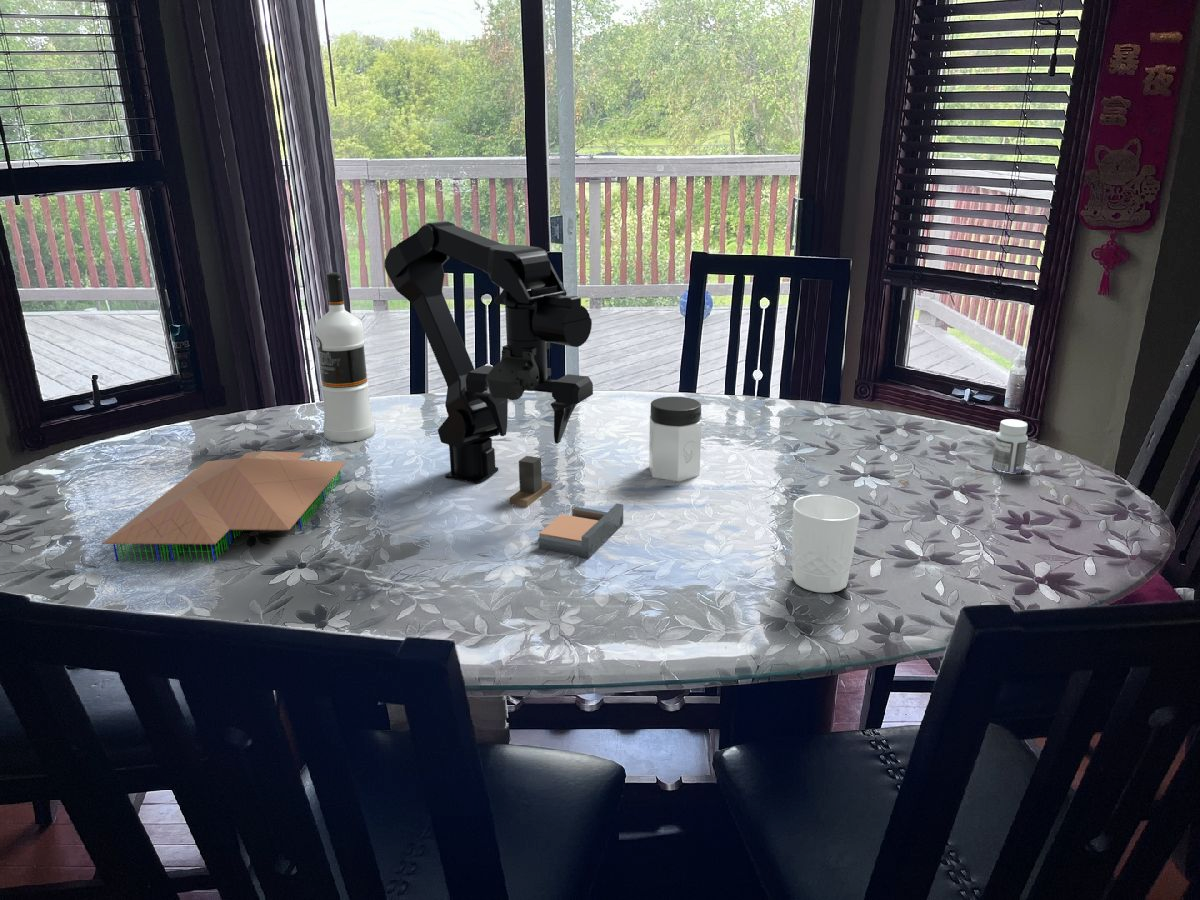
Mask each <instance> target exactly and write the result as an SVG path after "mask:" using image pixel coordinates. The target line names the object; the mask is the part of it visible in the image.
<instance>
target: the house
mask: <svg viewBox="0 0 1200 900" xmlns="http://www.w3.org/2000/svg"><path fill="white" fill-rule="evenodd" d="M304 455H305V452H292V451H291V452H290V451H271V450H270V451H269V450H260V451H250V452H246V453H244V454H243V455H242V456H241V457H239V458H230V459H229V458H228V459H218V460H206V461H205V462H204V463H202V464H201V465H200V466H198V467H197V468H196V469H194V470H193V471H192V472H191V473H190V474H188V475H187V476H186V477H185V478H183V479H182V480H181V481H179V482H178V483H177V484H175V485H174V486H173V487H171V488H170V489H169V490H168V491H166V492H164V494H162V495H161V496H160V497H159V498H158V499H156V500H155V501H153V503H151V504H150V505H148V506H147V507H146V508H145V509H144V510H142V511H141V512H140V513H138V514H137V515H136V516H134V517H133V518H132V519H131V520H130V521H128V522H127V523H126V524H125V525H123V526H122V527H121V528H120V529H118V530H117V531H115V532H114V533H113V534H111V536H109V537H107V539H105V540H104V541H102V544H104V545H108V544H110V545H111V544H112V546H113V550H114V554H115V560H116V562H119V560H121V559H122V560H123V562H125V557H124V556H125V555H124V554H126V553H127V555H128V560H129V562H131V558H130V557H131V556H130V553H129V552H133V555H134V560H135V561H134V562H137V557H136V550H135V547H134V545H136V546H137V545H138V552H139V554H140V560H141V562H143V556H142V552H145V555H146V560H147V562H149V558H148V557H149V556H148V553H147V552H148V550H147V546H146V545H150V549H151V550H150V551H151V555H152V561H153V562H154V561H155V557H154V553H153V552H155V554H156V559H157V562H158V561H159V562H158V563H160V562H161V560H160V556H161V559H162V558H163V556H164V558H163V559H164V562H165V561H166V562H167V561H168V562H170V559H171V562H172V561H173V562H172V563H174V562H175V559H176V556H178V562H179V561H180V562H181V560H180V554H179V553H181V554H182V552H183V557H184V562H185V563H187V560H186V554H185V550H184V549H186V548H187V549H188V552H189V557H190V562H191V561H192V562H193V558H192V554H191V552H192V553H193V552H194V553H195V556H196V562H197V561H198V562H199V559H198V554H197V553H198V551H197V547H196V545H199V546H200V552H201V557H202V562H203V563H205V558H204V553H207V555H208V562H209V563H211V558H210V552H211V554H212V559H213V563H216V562H215V561H216V559H217V560H219V556H220V555H221V553H222V552H223V553H224V551H225V550H226V551H227V548H228V546H229V545H230V544H231V545H232V543H231V542H233V543H234V540H233V539H235V540H236V537H237V536H238V537H239V534H240V535H241V531H242V532H243V530H244V531H291V530H292V528H293V527H295V529H297V525H296V523H297V522H298V525H299V530H300V529H302V530H303V528H305V524H306V523H307V522H309V519H310V518H312V516H314V512H315V513H316V510H317V511H318V508H319V507H321V505H323V503H324V502H325V500H327V498H328V497H329V495H330V493H332V492H333V491H334V490H333V489H335V488H336V486H337V485H338V484H340V482H341V481H342V474H341V470H342V468H343V467H344V466H345V465H346V464H347V462H346V461H327V460H324V461H323V460H301V458H302V457H303V456H304ZM339 481H340V482H339ZM323 501H324V502H323ZM306 525H307V524H306ZM290 529H291V530H290ZM235 533H236V534H235ZM219 541H220V543H219ZM227 542H228V543H227ZM216 544H217V545H216ZM119 545H120V546H119ZM130 545H131V548H132V547H133V548H132V550H131V549H130ZM140 545H144V549H145V550H141V546H140ZM152 545H154V547H155V549H153V546H152ZM158 545H159V547H158ZM187 545H188V547H187ZM189 545H194V550H191V548H190V546H189ZM202 545H206V550H203V547H202ZM208 545H210V548H211V550H209V548H208ZM184 546H185V547H184ZM123 547H124V550H123ZM168 547H169V548H168ZM181 547H182V549H181ZM223 547H224V549H223ZM220 548H221V549H220ZM175 549H176V550H175ZM178 549H179V550H178ZM120 552H121V554H120ZM124 552H125V553H124ZM159 552H160V553H159ZM168 552H169V553H170V558H169V553H168ZM175 552H176V553H175ZM215 554H216V556H215ZM218 554H219V556H218ZM165 555H167V559H166V556H165ZM121 556H122V558H121ZM221 556H222V555H221ZM176 560H177V559H176Z"/></svg>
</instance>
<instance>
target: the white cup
mask: <svg viewBox="0 0 1200 900" xmlns="http://www.w3.org/2000/svg"><path fill="white" fill-rule="evenodd" d="M860 513H861V508H860V507H859V505H858V504H856V503H855V502H853V501H851V500H849V499H847V498H843V497H841V496H836V495H830V494H810V495H804V496H801V497H799V498H797V499H795V500H794V501H793V505H792V532H791V533H792V535H791V537H792V539H791V542H792V543H791V544H792V548H791V550H792V552H791V555H792V570H791V571H792V572H791V573H792V579H793V581H794V583H795V584H796V585H797V586H799V587H801V588H803V589H804V590H807V591H811V592H815V593H823V594H825V593H826V594H830V593H835V592H839V591H842V590H844V589H845V588H847V586H848V582H849V575H850V570H851V566H852V564H853V557H854V552H855V547H856V542H857V534H858V527H859V520H860V515H861V514H860Z"/></svg>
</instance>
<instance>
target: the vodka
mask: <svg viewBox="0 0 1200 900" xmlns="http://www.w3.org/2000/svg"><path fill="white" fill-rule="evenodd" d="M325 279H326V287H327V288H326V289H327V297H328V299H327V300H328V308H329V309H328V312H326V313H324V315H322V316H321V317H320V318H319V319H318V320H317V321H316V322H315V325H314V330H313V331H314V333H315V336H316V338H315V339H316V344H317V345H316V346H317V347H316V348H317V356H318V362H319V372H320V379H321V380H320V381H321V386H320V388H321V391H322V397H323V408H324V409H323V410H324V413H323V415H324V416H323V417H324V418H323V419H324V420H323V422H324V423H323V425H322V426H323V427H322V429H323V430H322V431H323V436H324V438H325V439H326V438H327V439H326V440H328V441H330V442H333V441H335V442H334V443H339V442H348V443H355V442H354V441H357V442H361V440H362V441H365V440H367V438H368V439H370V438H371V437H373V436H374V435H375V434H376V430H377V429H376V421H375V419H374V416H373V412H372V408H371V407H372V406H371V402H370V391H369V386H370V383H369V381H368V377H367V376H368V375H367V366H366V355H365V342H366V341H365V339H364V335H365V333H364V325H363V323H362V321H361V319H359V318H358V317H357V316H355V315H354V314H352V313H350V312H349V311H347V310H346V307H345V299H344V298H345V297H344V291H343V288H344V287H343V282H342V273H340V272H334V271H332V272H329V273H326V274H325ZM364 439H365V440H364Z"/></svg>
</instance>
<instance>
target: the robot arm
mask: <svg viewBox="0 0 1200 900" xmlns="http://www.w3.org/2000/svg"><path fill="white" fill-rule="evenodd" d="M450 258H452V259H455V260H458V261H459V262H462V263H464V264H468V265H470V266H472V267H474V268H477V269H479V270H481V271H483V272H484V273H486V274H487V275H488V278H489V279H490V281H491V283H493V284H495V285H496V286H497V287H499V288H501V289H502V291H501V293H500V294H499V295H497V296H496V297H495V298H494V299H493V300H494V303H495V304H496V305H501V306H502V305H503V306H504V310H505V312H504V313H505V329H506V331H505V332H506V333H505V336H506V345H503V346H502V349H501V357H500V361H499V362H497V363H496V364H495V365H493V366H491V365H482V366H480V367H477V368H475V367H474V365H473V362H472V360H471V358H470V355H469V353H468V351H467V348H466V346H465V344H464V341H463V338H462V337H461V334H460V331H459V329H458V326H457V325H456V322H455V320H454V317H453V315H452V312H451V311H450V307H449V306H448V303H447V301H446V299H445V297H444V294H443V286H444V280H445V271H444V267H443V266H444V265H445V263H447V261H449V260H450ZM384 269H385V272H386V275H387V276H388V278H389V279H390V281H391V283H392V286H393V287H394V289H395V290H396V292H397V293H399V294H400V295H401V296H403V298H405V299H406V300H408V302H410V303H411V304H412V305H413V307H414V310H415V313H416V315H417V318H418V320H419V322H420V324H421V326H422V328H423V331H424V334H425V337H426V338H427V341H428V343H429V346H430V348H431V351H432V352H433V354H434V355H433V356H434V358H435V359H436V362H437V364H438V367H439V370H440V371H441V374H442V376H443V378H444V382H445V383H446V386H447V389H446V399H445V409H446V413H447V416H448V417H447V418H445V420H444V422H442V423H441V425H440V426H439V428H438V429H437V434H438V436H439V440H440V443H442V444H445V445H448V447H449V448H448V450H449V464H450V465H449V466H450V471H449V472H447V473H446V474H445V478H446V479H451V480H455V481H457V480H458V481H464V482H468V483H475V484H480V483H483V482H484V481H485V480H486V479H488V478H490V477H491V476H493V475H494V474H496V473H497V472H498V471H499V467H497V466H496V449H495V448H494V447H493V439H492V437H498V436H499V435H500V437H505V436H506V435H507V432H508V417H509V416H508V413H509V412H508V407H509V405H508V404H509V402H508V401H509V400H510V401H517V400H519V399H520V398H522V397H523V394H524V392H525V391H526V392H527V391H528V392H542V393H550V394H551V397H552V398H553V399H554V400H555V401H553V402H552V403H550V407H551V408H552V410H553V416H554V417H553V437H554V444H560V443H561V441H562V438H563V436H564V433H565V430H566V428H567V426H568V423H569V420H570V419H571V416H572V414H573V412H574V410H575V407H576V406H577V405H578V404H580V403H582V402H583V401H585V400H586V399H588V398H589V397H591V396H592V395H594V384H593V382H592V380H591V378H590V376H588V375H580V374H579V375H578V374H569V373H567V374H565V375H564V376H562V377H560V378H558V379H551V378H548V377H550V376H552V368H551V367H549V368H548V358H547V356H548V354H547V350H549V349H551V343H553V344H557V345H562V346H568V347H575V348H578V347H581V346H582V345H584V344H585V343H586V342H587V340H589V337H590V335H591V332H592V324H593V322H592V318H591V316H590V313H589V311H588V309H587V308H586V307H585V306H583V305H582V298H581V296H579V295H578V296H577V295H570V296H569V295H567V293H568V292H567V291H566V289H565V287H564V285H563V282H562V281H561V279H560V277H559V275H558V274H557V272H556V270H555V268H554V267H553V264H552V263H551V261H550V259H549V254H548V253H547V251H546V250H545V249H543V248H542V247H539V246H532V245H525V244H524V245H523V244H503V243H500V242H499V241H496V240H494V239H490V238H487V237H485V236H482V235H480V234H477V233H474V232H472V231H469V230H467V229H465V228H461V227H460V226H457V225H456V224H455V223H453V222H450V221H437V222H427V223H425V224H424V225H422V226H421V227H420V228H419V229H418V230H417V231H416V232H415V233H413V234H412V235H410V236H408V237H407V238H405V239H403V240H402V241H400V242H399V243H397V244H396V245H395V246H392V247H391V248H390V249H389V250H388V252H387V255H386V257H385V258H384Z"/></svg>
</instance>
